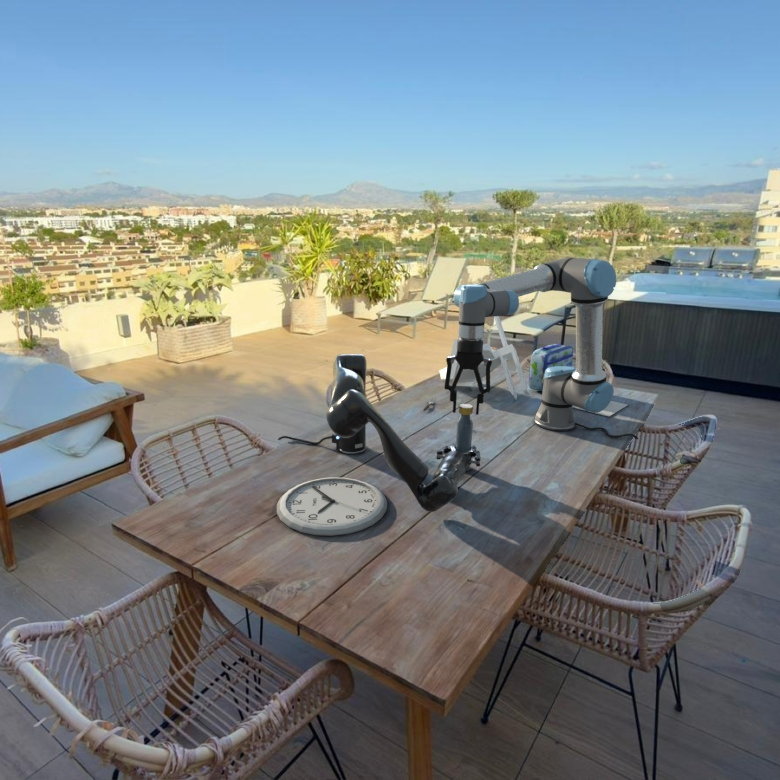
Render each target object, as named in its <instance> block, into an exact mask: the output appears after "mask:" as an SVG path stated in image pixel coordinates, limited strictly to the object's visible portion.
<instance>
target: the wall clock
mask: <svg viewBox="0 0 780 780" xmlns="http://www.w3.org/2000/svg"><path fill="white" fill-rule="evenodd" d="M387 509H388V500H387V498H386V496H385V494H384V493H383V492H382V491H381V490H380V489H379V488H377V487H376V486H374V485H372V484H371V483H369V482H365V481H362V480H359V479H355V478H349V477H338V476H337V477H335V476H333V477H332V476H331V477H322V478H317V479H312V480H307V481H305V482H302V483H299V484H297V485H295V486H293V487H292V488H290V489H288V490H287V491H286V492H285V493H284V494H283V495H281V496H280V498H279V499H278V502H277V503H276V515H277V517H278V518H279V520H280V521H281V522H282V523H283V524H285V525H286V526H287V527H288V528H290V529H293V530H295V531H297V532H299V533H303V534H308V535H312V536H327V537H328V536H329V537H331V536H332V537H333V536H342V535H350V534H352V533H356V532H361V531H363V530H366V529H368V528H369V527H372V526H373V525H375V524H376V523H378V522H379V521H380V520H381V519H382V518H383V517H384V516H385V514H386V512H387Z"/></svg>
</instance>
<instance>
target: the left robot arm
mask: <svg viewBox="0 0 780 780" xmlns="http://www.w3.org/2000/svg"><path fill="white" fill-rule="evenodd" d="M367 363H368V362H367V358H366V356H365V354H361V353H360V354H359V353H356V354H354V353H353V354H352V353H351V354H350V353H349V354H348V353H346V354H345V353H343V354H342V353H341V354H338V355H336V356H335V358H334V359H333V364H332V372H333V373H332V375H333V380H332V385H331V397H330V403H329V406H328V407H327V410H326V414H325V418H326V422H327V425H328V427H329V429H330V430H331V431H332V432H333V433H332V434H331V435H330V436H329V435H328V436H325V437H322V438H321V439H320V440H319V441H311V440H310V441H309V440H307V439H301V438H297V437H293V436H288V435H281V436H279V438H277V441H281V440H283V439H288V440H292V441H297V442H301V443H306V444H310V445H319V444H321V443H322V442H323V441H325V440H329V439H330V440H331V443H332V444H335V450H336V451H338V452H340V453H342V454H345V455H359V454H362V453H363V452H366V449H367V441H366V440H367V436H366V435H367V433H366V431H367V429H366V428H367V426H366V425H368V424H369V423H370V424H371V425H372V426H373V427H374V429H375V430H376V432H377V433H378V436H379V439H380V441H381V446H382V450H383V455H384V458H385V461H386V463H387V465H388V467H389V468H390V470H392V472H393V473H394V474H395V475H397V476H398V478H400V479H401V480H402V481H403V482H405V484H406V485H407V487H408V488H409V490H410V491H411V492H412V494H413V496H414V498H415V499H416V502H417V503H418V505H419V506H420V507H421V508H422V509H423V510H424V511H425V512H426V511H427V512H429V513H434V512H437V511H439V510H440V509H441V508H443V507H444V506H446V505H448V504H449V503H451V502H452V501H454V500H455V499H456V497H457V496H458V494H459V492H458V491H459V489H458V484H459V483H460V482H461V480H462V479H463V477H464V476H465V474H466V472H467V471H466V470H467V468H468V466H469V465H470V466H471V465H472V464H474V465H475V466H476V467H480V466H481V459H482V458H481V451H480V450H477V446H476V445H475V444H471V449H470V450H466V451H464V452H459V451H456V442H455V443H453V444H452V445H450V446H449V445H444V446H442V447H441V448H439V449H438V450H436V460H440V462H439V463H438V465H437V469H436V470H435V472H434V474H433V475H432V480H431V481H429V482H428V483H427V484H425V483H424V482H425V480H426V478H427V477H428V475H429V473H430V469H429V467H428V465H427V464H425V462H424V461H423V460H422V459H421V458H420V457H419V456H418V455H416V454H415V452H414V451H412V450H411V448H409V446H407V444H406V443H404V441H403V440H402V439H401V437H400V436H399V435H398V434H397V432H396V431H395V430H394V429H393V427H392V426H391V424H389V423H388V421H387V420H386V419H385V418H384V417H383V415H382V414H381V412H379V410H378V409H377V407H375V405H374V404H373V403H372V402H371V401H370V400H369V399H368V398H367V396H366V395H367V393H366V392H367V391H366V389H367V388H366V387H367V370H368V369H367V368H368V365H367Z"/></svg>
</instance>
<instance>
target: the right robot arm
mask: <svg viewBox="0 0 780 780" xmlns="http://www.w3.org/2000/svg"><path fill="white" fill-rule="evenodd" d="M616 285H617V272H616V270H615V267H614V265H612V264H611V262H609V261H607V260H604V259H600V258H599V259H598V258H580V257H563V258H558V259H555V260H554V259H553V260H550V261H548V262H543V263H539V264H537V265H536V266H534V268H533V269H530V270H525V271H522V272H518V273H515V274H511V275H507V276H503V277H500V278H496V279H492V280H489V281H486V282H481V283H477V284H472V283H471V284H461V285H459V286H458V287H456V289H455V290H454V293H453V297H452V299H453V302H454V305H455V306H456V307H458V323H457V337H458V338H457V339H458V341H457V353H456V355H455V356H451V355H448V356H447V357H446V359H445V361H446V365H447V366H446V367H447V372H446V380H445V384H444V389H445V390H447V391H449V402H452V404H453V405H452V413H453V414H455V413H456V412H457V399H458V398H457V397H458V390H457V389H456V388H457V385H458V384H457V383H458V380H459V378H460V375H461V373H462V371H463V369H470V370H474V373H475V377H476V380H477V383H476V384H477V387H478V390H479V391H477V394H476V408H475V415H477V416H478V415H479V411H480V405H483V403H484V396H485V394H486V393H490V392H491V372H490V367H491V364H492V359H487V358H484V356H483V354H482V352H483V344H484V340H483V338H484V335H485V324H486V318H491V317H493V318H494V316H499V317H506V316H510V315H514V314H515V313H517V311H518V309H519V306H520V299H519V298H520V297H523V296H527V295H529V294H532V293H533V294H534V293H536V292H540V293H547V292H551V291H554V292H565V293H569V294H570V301H571V303H572V304H573V305H574V306H575V367H574V366H572V367H569V366H555V367H549V368H547V369H546V370H545V375H544V378H543V379H544V380H543V390H542V391H541V402H540V405H539V407H538V410H537V411H536V413H535V417H534V424H535V425H536V426H537V427H539V428H542V429H544V430H549V431H556V432H567V431H572V430H574V429H575V428H576V426H577V427H580V428H583V429H584V430H588V431H597V430H601V431H604V432H605V435H606V436H607V437H609V438H611V439H612V438H613V439H618V438H625V437H632V438H634V439H635V440H639V437H638V436H637V435H635V434H634V433H623V434H617V435H615V434H614V435H613V434H611V433H609V431H608V429H606V428H605V427H602V426H596V427H589V426H586V425H584V424H581V423H577V422H576V418H575V417H576V416H575V413H574V407H579V408H582V409H584V410H586V411H585V412H588V411H590V412H589V413H592V412H594V413H593V414H596V413H597V412H600V411H602V410H604V409H605V408H606V407H607V406H608V404H609V403H610V401H612V399H613V397H614V393H615V392H614V391H615V389H614V386H613V385H612V384H611V382H609V381H607V372H606V371H604V369H603V329H604V328H603V325H604V324H603V321H604V320H603V319H604V318H603V317H604V304H605V303H607V301H608V300H609V296H611V295H612V294H613V292H614V290H615V289H614V288H615V287H616ZM454 360H456V361H457V362H458V364H459V365H460V366H459V369H458V371H457V374H456V376H455V379H454V381H453V383H452V384H450V385H449V383H450V375H451V368H452V364H453V363H454ZM482 361H483V362H484V365H485V366H486V376H485V386H484V384H483V380H481V376H480V373H479V369H478V366H479V365H480V364H481V362H482ZM573 406H574V407H573ZM584 410H583V411H584Z"/></svg>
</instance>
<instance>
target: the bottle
mask: <svg viewBox="0 0 780 780" xmlns="http://www.w3.org/2000/svg"><path fill="white" fill-rule="evenodd" d="M473 427H474V422H473V419H472V418H471V415H463V414H460V416H459V418H458V419H457V422H456V436H455V437H456V439H455V443H456V451H459V452H464V451H466V450H470V449H471V447H472V445H473V443H472V441H473ZM470 470H471V465H469V466H468V468H467V470H466V472H468V471H470Z"/></svg>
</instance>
